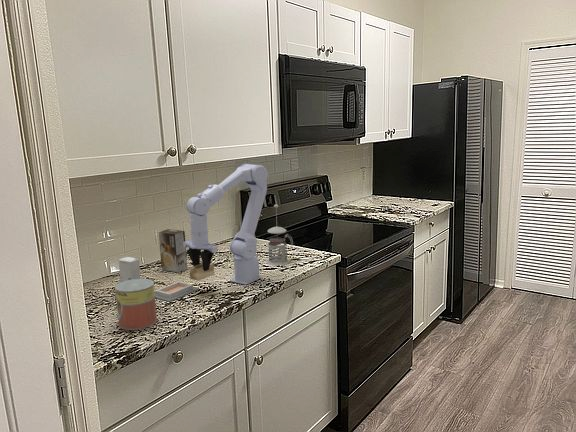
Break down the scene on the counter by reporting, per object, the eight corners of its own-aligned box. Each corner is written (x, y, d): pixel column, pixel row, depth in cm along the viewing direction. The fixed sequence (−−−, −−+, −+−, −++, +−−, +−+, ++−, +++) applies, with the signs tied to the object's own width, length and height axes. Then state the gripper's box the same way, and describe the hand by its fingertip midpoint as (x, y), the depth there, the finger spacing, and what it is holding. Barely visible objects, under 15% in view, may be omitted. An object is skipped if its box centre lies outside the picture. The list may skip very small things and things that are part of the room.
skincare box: (120, 291, 169) (117, 259, 167) (129, 288, 173) (126, 256, 171) (132, 294, 166) (129, 261, 164) (142, 290, 170) (139, 258, 168)
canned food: (115, 319, 146) (111, 282, 143) (151, 311, 151) (148, 276, 149) (122, 333, 136) (118, 294, 134) (161, 324, 142) (158, 286, 139)
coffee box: (188, 268, 195) (185, 230, 192) (178, 272, 189) (175, 234, 186) (171, 265, 199) (168, 228, 196) (160, 270, 194) (157, 232, 190)
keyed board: (179, 284, 176) (179, 279, 175) (199, 289, 170) (198, 284, 170) (149, 296, 164) (149, 291, 164) (169, 302, 159) (168, 296, 158)
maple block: (190, 278, 164) (189, 267, 164) (206, 272, 171) (205, 261, 170) (198, 280, 162) (197, 269, 161) (214, 274, 169) (213, 263, 168)
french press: (271, 257, 207) (269, 201, 202) (296, 259, 203) (295, 202, 198) (262, 264, 198) (260, 205, 193) (288, 266, 194) (287, 207, 189)
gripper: (176, 231, 164) (178, 269, 167) (206, 236, 156) (208, 275, 159) (190, 227, 170) (193, 263, 172) (220, 232, 162) (222, 270, 164)
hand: (201, 269), depth 166 cm, fingers closed on maple block, 4 cm apart
